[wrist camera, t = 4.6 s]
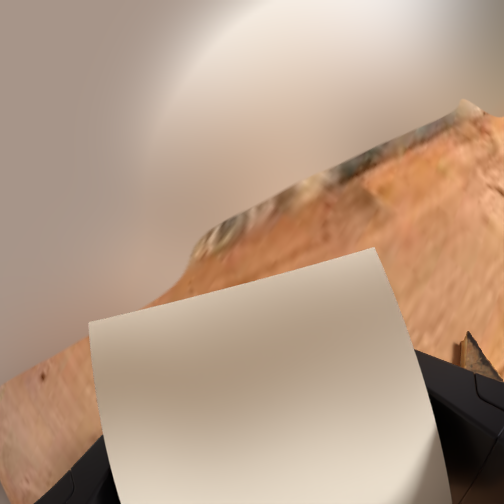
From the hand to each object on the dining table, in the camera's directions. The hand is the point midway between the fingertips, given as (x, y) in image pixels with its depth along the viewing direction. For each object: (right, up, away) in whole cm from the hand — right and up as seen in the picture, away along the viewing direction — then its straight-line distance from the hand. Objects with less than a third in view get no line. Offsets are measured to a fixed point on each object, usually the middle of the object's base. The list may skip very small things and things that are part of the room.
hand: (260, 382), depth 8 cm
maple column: (+1, -4, +5) cm, 7 cm away
